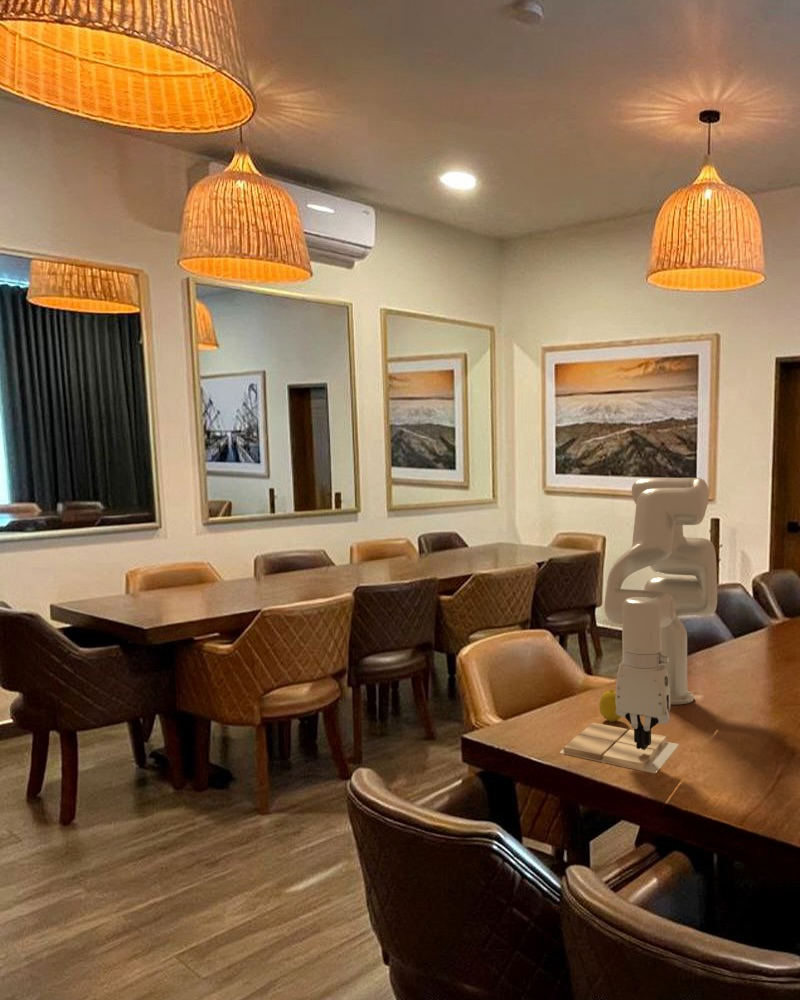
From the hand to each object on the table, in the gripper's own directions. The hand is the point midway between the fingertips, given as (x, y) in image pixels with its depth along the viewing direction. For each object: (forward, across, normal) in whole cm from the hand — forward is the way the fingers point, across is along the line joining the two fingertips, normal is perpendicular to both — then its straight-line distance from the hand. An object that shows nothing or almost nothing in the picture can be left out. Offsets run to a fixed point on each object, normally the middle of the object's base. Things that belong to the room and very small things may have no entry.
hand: (642, 746), depth 150 cm
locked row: (+3, +11, -4) cm, 12 cm away
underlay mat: (+3, +6, -4) cm, 8 cm away
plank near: (+3, +3, +1) cm, 4 cm away
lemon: (+4, +13, -19) cm, 23 cm away
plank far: (+3, +3, -8) cm, 9 cm away
